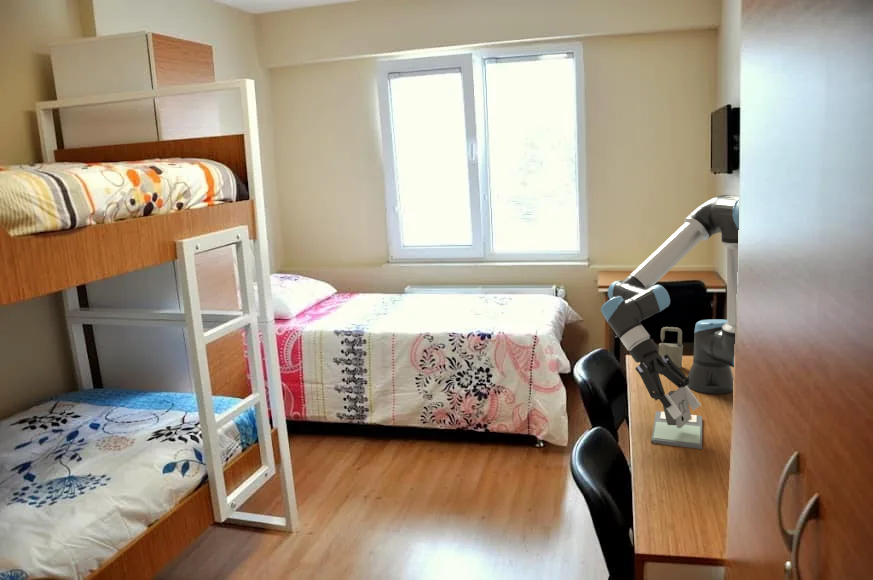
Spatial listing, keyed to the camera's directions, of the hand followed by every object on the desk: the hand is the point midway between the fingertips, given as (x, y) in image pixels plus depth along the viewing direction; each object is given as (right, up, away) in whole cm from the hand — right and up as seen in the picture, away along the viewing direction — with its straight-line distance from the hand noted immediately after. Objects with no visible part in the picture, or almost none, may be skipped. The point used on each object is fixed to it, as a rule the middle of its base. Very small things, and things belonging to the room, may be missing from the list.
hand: (687, 412), depth 184 cm
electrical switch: (-2, -4, +3) cm, 5 cm away
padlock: (+18, +5, +65) cm, 68 cm away
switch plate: (0, -7, +8) cm, 10 cm away
